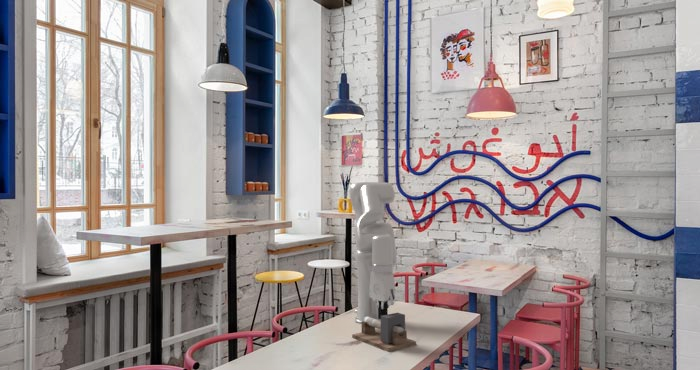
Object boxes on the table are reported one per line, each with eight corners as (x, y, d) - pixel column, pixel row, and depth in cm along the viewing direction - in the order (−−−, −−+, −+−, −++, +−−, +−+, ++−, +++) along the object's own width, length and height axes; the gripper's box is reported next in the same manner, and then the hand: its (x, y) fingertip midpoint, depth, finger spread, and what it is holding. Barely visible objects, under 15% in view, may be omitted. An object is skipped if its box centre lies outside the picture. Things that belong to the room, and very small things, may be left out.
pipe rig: (352, 337, 188) (352, 318, 188) (379, 331, 195) (379, 313, 195) (388, 351, 171) (387, 330, 171) (416, 344, 178) (415, 324, 178)
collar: (380, 341, 178) (380, 315, 178) (397, 337, 183) (397, 312, 183) (388, 343, 175) (387, 318, 175) (405, 339, 179) (404, 314, 179)
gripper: (362, 267, 187) (362, 316, 187) (387, 272, 175) (388, 325, 175) (377, 265, 192) (377, 313, 192) (403, 270, 180) (404, 321, 180)
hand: (382, 318), depth 183 cm, fingers closed
